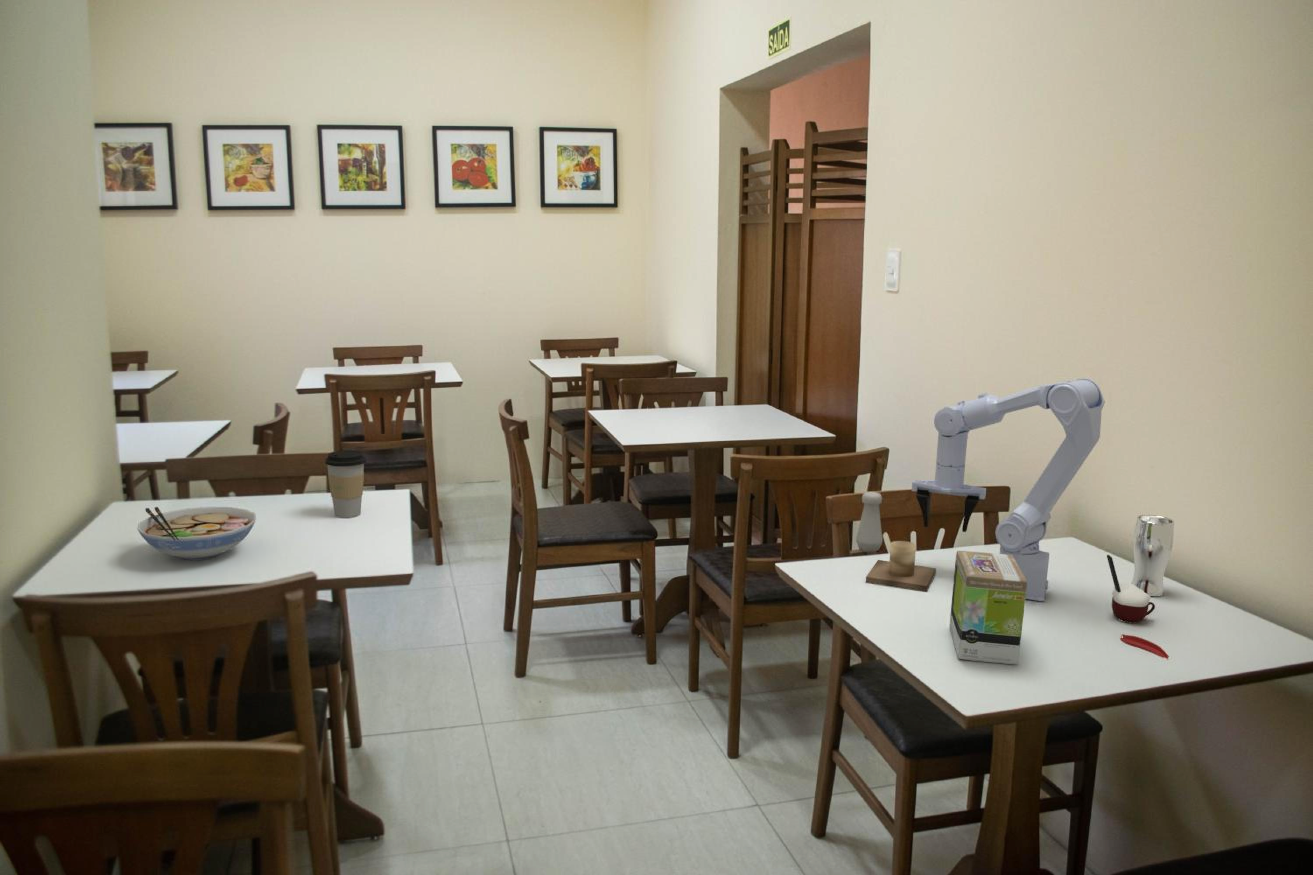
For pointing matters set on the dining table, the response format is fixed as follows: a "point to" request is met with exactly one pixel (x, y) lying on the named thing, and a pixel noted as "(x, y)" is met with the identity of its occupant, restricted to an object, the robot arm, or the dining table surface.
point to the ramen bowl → (196, 530)
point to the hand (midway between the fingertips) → (945, 528)
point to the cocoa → (1128, 599)
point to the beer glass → (1151, 552)
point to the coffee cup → (346, 481)
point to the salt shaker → (870, 523)
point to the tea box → (987, 607)
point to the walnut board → (915, 582)
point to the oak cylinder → (902, 558)
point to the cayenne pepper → (1144, 645)
